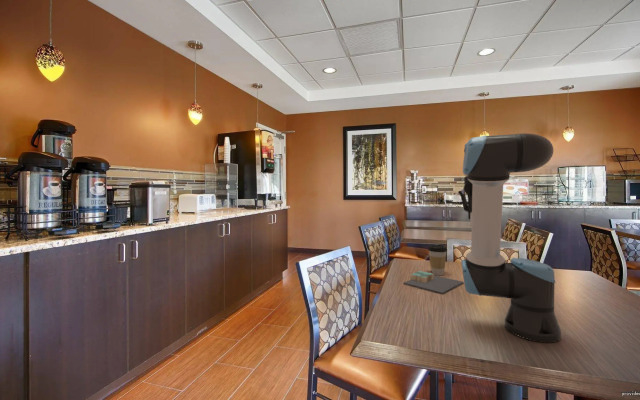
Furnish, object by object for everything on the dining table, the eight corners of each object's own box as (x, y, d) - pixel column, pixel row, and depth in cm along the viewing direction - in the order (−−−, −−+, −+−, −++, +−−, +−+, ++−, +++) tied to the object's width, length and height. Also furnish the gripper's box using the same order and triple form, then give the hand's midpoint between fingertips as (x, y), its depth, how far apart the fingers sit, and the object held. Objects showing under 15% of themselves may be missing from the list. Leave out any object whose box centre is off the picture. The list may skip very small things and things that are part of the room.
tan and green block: (424, 277, 147) (410, 274, 153) (424, 282, 147) (410, 279, 153) (433, 273, 153) (419, 270, 159) (433, 278, 153) (419, 275, 159)
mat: (442, 294, 133) (442, 292, 133) (403, 284, 148) (403, 282, 148) (463, 283, 148) (463, 281, 148) (426, 275, 162) (426, 273, 162)
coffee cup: (448, 272, 166) (448, 246, 166) (445, 277, 158) (445, 249, 158) (430, 270, 172) (430, 244, 171) (426, 274, 163) (426, 247, 163)
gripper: (491, 175, 136) (491, 226, 137) (462, 176, 146) (462, 224, 147) (485, 175, 131) (485, 228, 132) (455, 176, 141) (455, 225, 142)
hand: (473, 226), depth 139 cm, fingers closed
